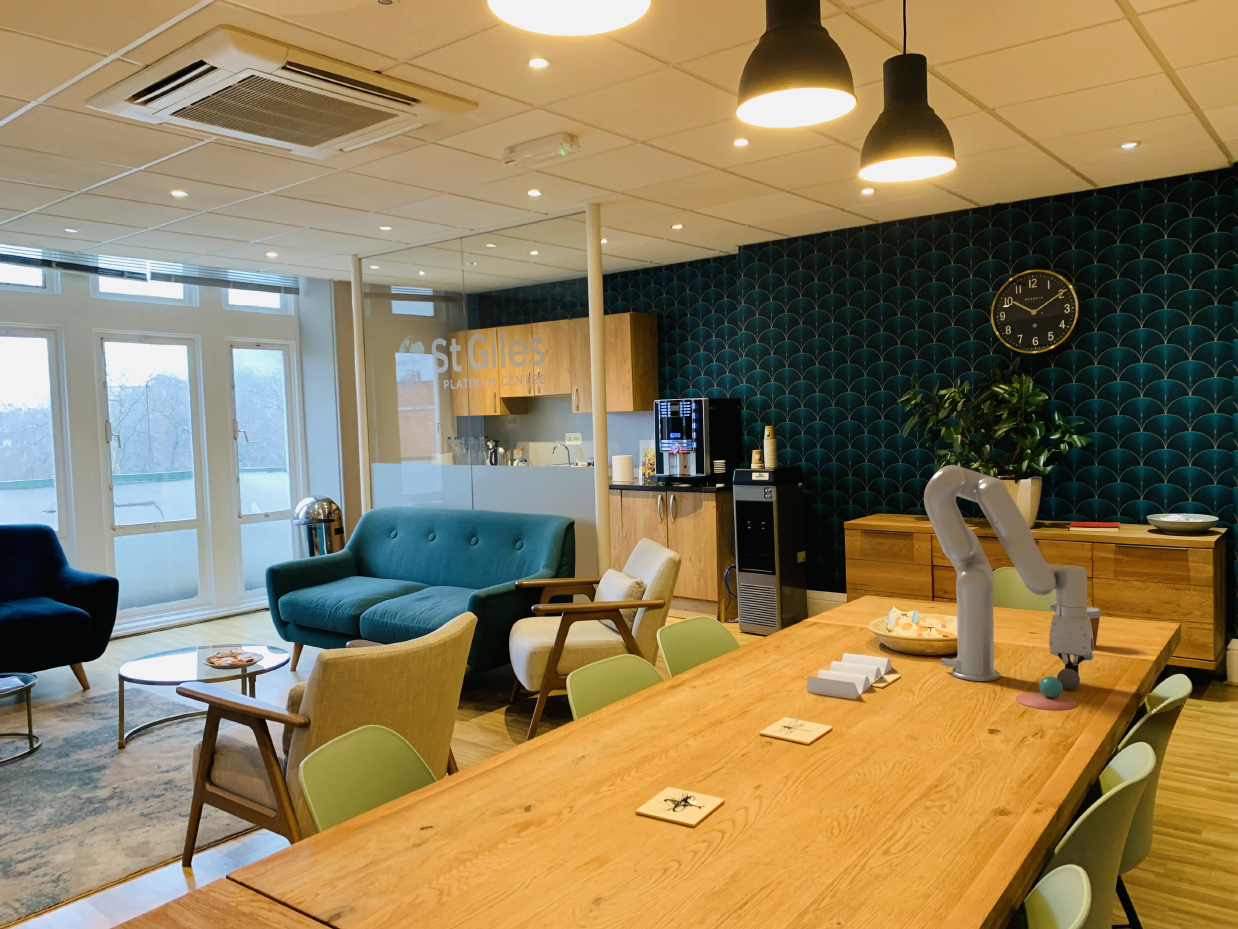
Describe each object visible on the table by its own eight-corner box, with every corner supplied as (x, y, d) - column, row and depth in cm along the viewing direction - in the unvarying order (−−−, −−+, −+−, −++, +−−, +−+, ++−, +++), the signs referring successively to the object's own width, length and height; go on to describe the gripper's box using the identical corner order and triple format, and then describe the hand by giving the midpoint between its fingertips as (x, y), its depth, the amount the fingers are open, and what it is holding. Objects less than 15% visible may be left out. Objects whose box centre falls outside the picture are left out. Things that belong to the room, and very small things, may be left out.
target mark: (1015, 706, 224) (1015, 705, 224) (1015, 691, 237) (1015, 690, 237) (1078, 712, 218) (1078, 712, 218) (1074, 696, 231) (1074, 695, 231)
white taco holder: (893, 669, 263) (893, 652, 263) (855, 702, 234) (854, 682, 233) (849, 664, 270) (849, 647, 270) (807, 695, 241) (807, 676, 241)
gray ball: (1065, 667, 241) (1061, 687, 241) (1055, 665, 238) (1051, 685, 238) (1085, 672, 237) (1081, 693, 236) (1075, 670, 234) (1071, 691, 233)
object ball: (1049, 693, 234) (1042, 703, 230) (1039, 674, 234) (1032, 684, 231) (1069, 690, 230) (1062, 700, 226) (1059, 671, 230) (1052, 681, 227)
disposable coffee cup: (1093, 642, 285) (1093, 605, 284) (1106, 650, 276) (1106, 611, 275) (1062, 642, 286) (1062, 605, 285) (1074, 650, 276) (1074, 612, 276)
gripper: (1037, 610, 244) (1038, 676, 244) (1097, 617, 233) (1097, 686, 234) (1047, 606, 249) (1047, 670, 250) (1106, 612, 239) (1106, 680, 239)
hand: (1071, 678), depth 242 cm, fingers closed
